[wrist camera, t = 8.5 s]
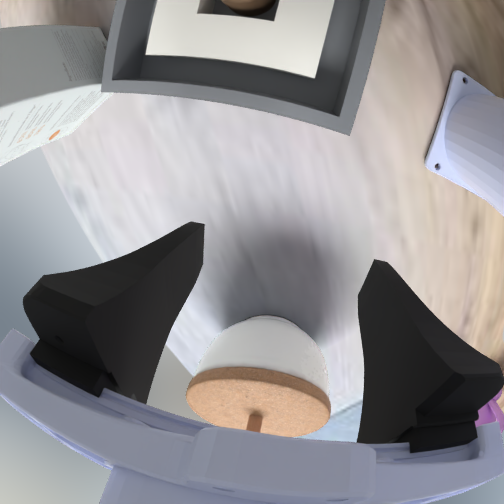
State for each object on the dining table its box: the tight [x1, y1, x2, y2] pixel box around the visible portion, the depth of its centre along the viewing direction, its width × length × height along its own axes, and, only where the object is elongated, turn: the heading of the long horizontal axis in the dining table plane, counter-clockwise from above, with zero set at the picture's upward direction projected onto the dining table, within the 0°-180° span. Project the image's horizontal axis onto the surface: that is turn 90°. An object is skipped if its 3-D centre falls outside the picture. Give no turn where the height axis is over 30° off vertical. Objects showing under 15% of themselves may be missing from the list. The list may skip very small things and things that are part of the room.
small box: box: [0, 25, 114, 166], centre depth 11 cm, size 8×6×13 cm
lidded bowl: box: [186, 315, 331, 437], centre depth 24 cm, size 13×13×11 cm
